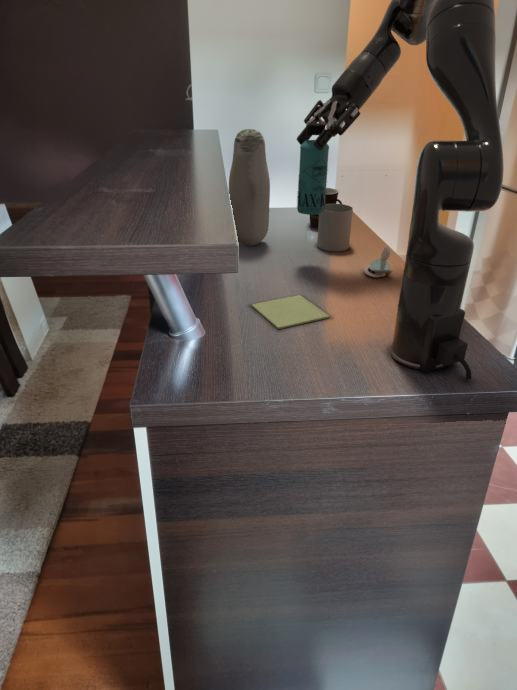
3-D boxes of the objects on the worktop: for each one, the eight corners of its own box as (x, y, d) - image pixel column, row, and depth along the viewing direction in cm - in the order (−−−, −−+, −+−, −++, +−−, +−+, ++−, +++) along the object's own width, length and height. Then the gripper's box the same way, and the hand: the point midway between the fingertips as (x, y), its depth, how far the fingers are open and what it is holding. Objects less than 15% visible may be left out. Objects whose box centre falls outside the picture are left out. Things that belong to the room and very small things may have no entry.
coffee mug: (302, 222, 154) (304, 187, 149) (330, 220, 155) (333, 187, 150) (313, 233, 144) (315, 197, 139) (343, 232, 145) (346, 196, 140)
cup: (348, 252, 130) (352, 212, 125) (316, 250, 131) (318, 211, 126) (348, 242, 137) (352, 204, 132) (318, 240, 138) (320, 202, 133)
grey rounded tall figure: (224, 240, 137) (222, 127, 124) (259, 236, 141) (260, 126, 127) (238, 251, 130) (236, 132, 116) (274, 247, 133) (277, 130, 119)
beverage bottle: (290, 217, 118) (293, 123, 108) (310, 212, 122) (315, 121, 112) (310, 223, 114) (315, 125, 104) (331, 218, 117) (337, 123, 108)
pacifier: (365, 280, 114) (393, 280, 114) (368, 252, 111) (396, 252, 111) (362, 268, 120) (388, 268, 120) (364, 242, 117) (390, 242, 117)
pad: (329, 317, 97) (329, 315, 97) (278, 329, 93) (278, 327, 92) (299, 296, 105) (299, 294, 105) (251, 306, 101) (251, 304, 101)
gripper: (330, 67, 112) (281, 128, 113) (370, 68, 100) (315, 136, 102) (348, 94, 116) (300, 152, 117) (388, 97, 105) (336, 162, 106)
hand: (308, 144), depth 109 cm, fingers closed on beverage bottle, 6 cm apart
